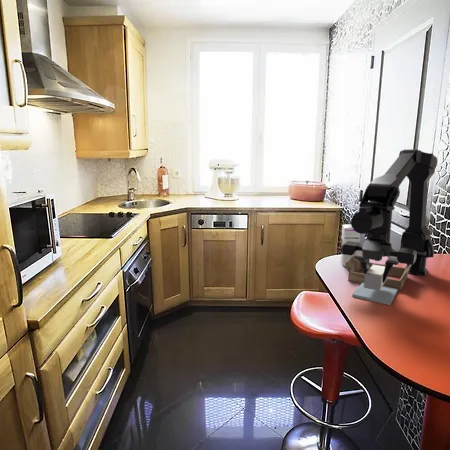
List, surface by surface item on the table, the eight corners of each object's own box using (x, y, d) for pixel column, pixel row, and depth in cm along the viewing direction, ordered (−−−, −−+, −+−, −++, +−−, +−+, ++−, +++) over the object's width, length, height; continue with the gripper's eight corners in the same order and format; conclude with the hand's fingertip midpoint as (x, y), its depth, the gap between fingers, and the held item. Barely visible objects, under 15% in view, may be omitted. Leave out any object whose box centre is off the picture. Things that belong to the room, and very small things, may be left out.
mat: (362, 284, 107) (362, 282, 106) (397, 291, 101) (397, 288, 101) (352, 296, 98) (352, 294, 98) (390, 305, 92) (390, 302, 92)
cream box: (372, 277, 103) (373, 264, 102) (386, 279, 101) (387, 266, 100) (363, 287, 95) (364, 274, 95) (379, 290, 93) (380, 276, 92)
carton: (355, 268, 121) (356, 252, 120) (412, 278, 111) (413, 261, 110) (343, 279, 111) (344, 262, 109) (405, 291, 100) (407, 273, 99)
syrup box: (359, 267, 122) (361, 227, 119) (341, 266, 123) (344, 227, 120) (356, 262, 128) (358, 224, 125) (340, 261, 129) (341, 223, 126)
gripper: (336, 229, 93) (333, 283, 96) (413, 238, 82) (407, 298, 86) (348, 222, 102) (345, 271, 105) (419, 229, 91) (413, 284, 95)
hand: (375, 280), depth 97 cm, fingers closed on cream box, 4 cm apart
